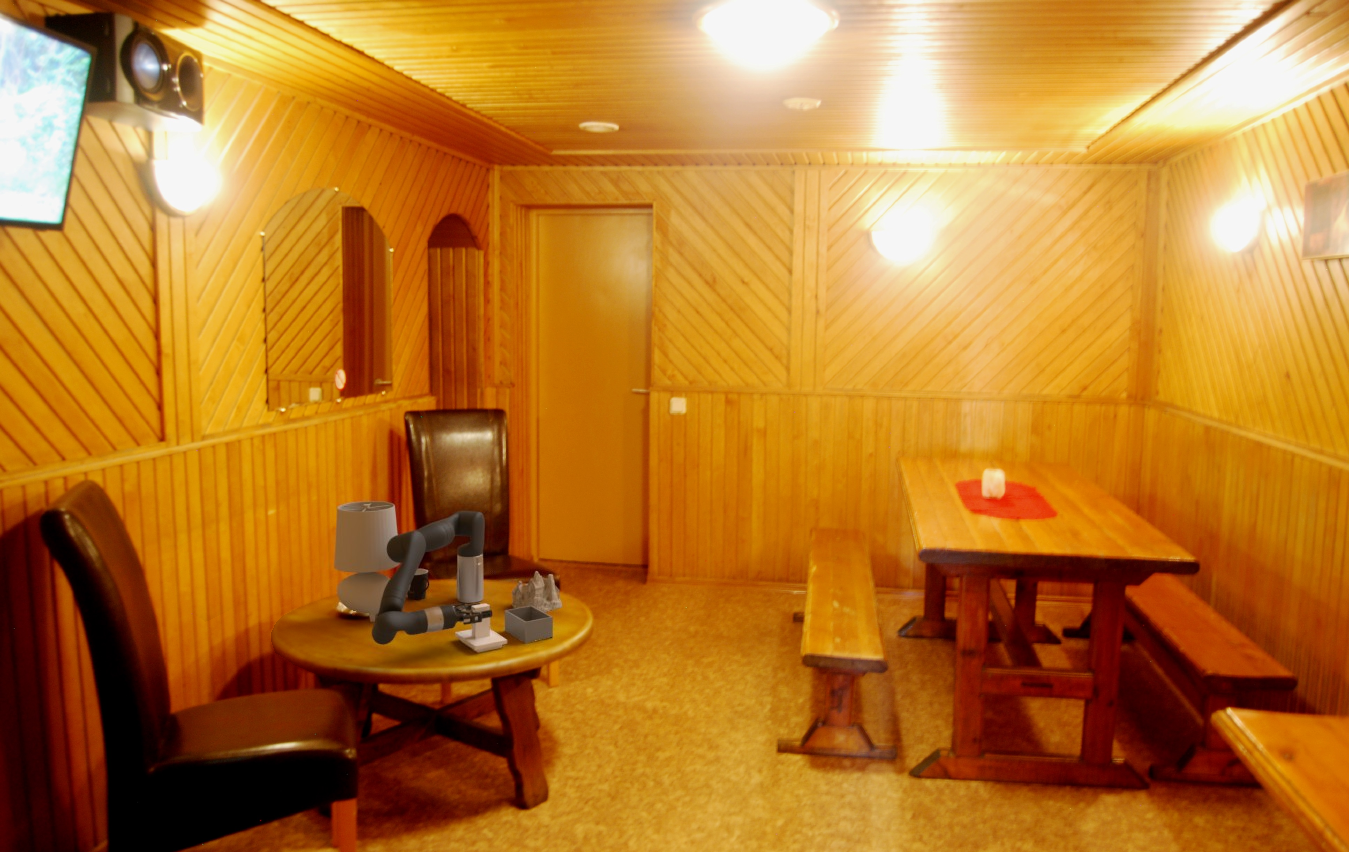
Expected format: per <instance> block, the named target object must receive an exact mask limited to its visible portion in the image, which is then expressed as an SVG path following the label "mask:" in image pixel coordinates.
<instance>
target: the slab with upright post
mask: <svg viewBox="0 0 1349 852" xmlns="http://www.w3.org/2000/svg"><path fill="white" fill-rule="evenodd" d="M471 610H474V611H475V612H481V611H486V610H491V605H490V604H488V603H486V602H485V603H480V604H479V605H473V606H471ZM475 618H478V617H475ZM454 633H455V634H454V635H455V637H456V638H457V639H459V641H460V642H462V643H463V644H464V645H465V646H467V647H469V648H470V649H471V650H473V651H474V652H476V653H482V652H487V651H493V650H498V649H500V648H503V645H506V644H508V639H506V638H505V637H503V636H502V635H500V634H499V633H497V632H496V631H494V630H493V629H491V617H489V618H484V619H482V622H478V623H473V624H471V629H466V630H461V631H455V632H454Z"/></svg>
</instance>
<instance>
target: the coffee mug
mask: <svg viewBox="0 0 1349 852" xmlns="http://www.w3.org/2000/svg"><path fill="white" fill-rule="evenodd" d="M428 576H429V570H428V569H424V568H418V569H417V571H416V573H415V575H414V577H413V579H412V581H411V584H410V586H409V589H408V592H407V596H406V598H407V600H408V599H409V600H408V601H412V600H417V601H423V600H425V599H426V596H427V590H428V589H429V587H430V580H429V579H428ZM422 599H423V600H422Z"/></svg>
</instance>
